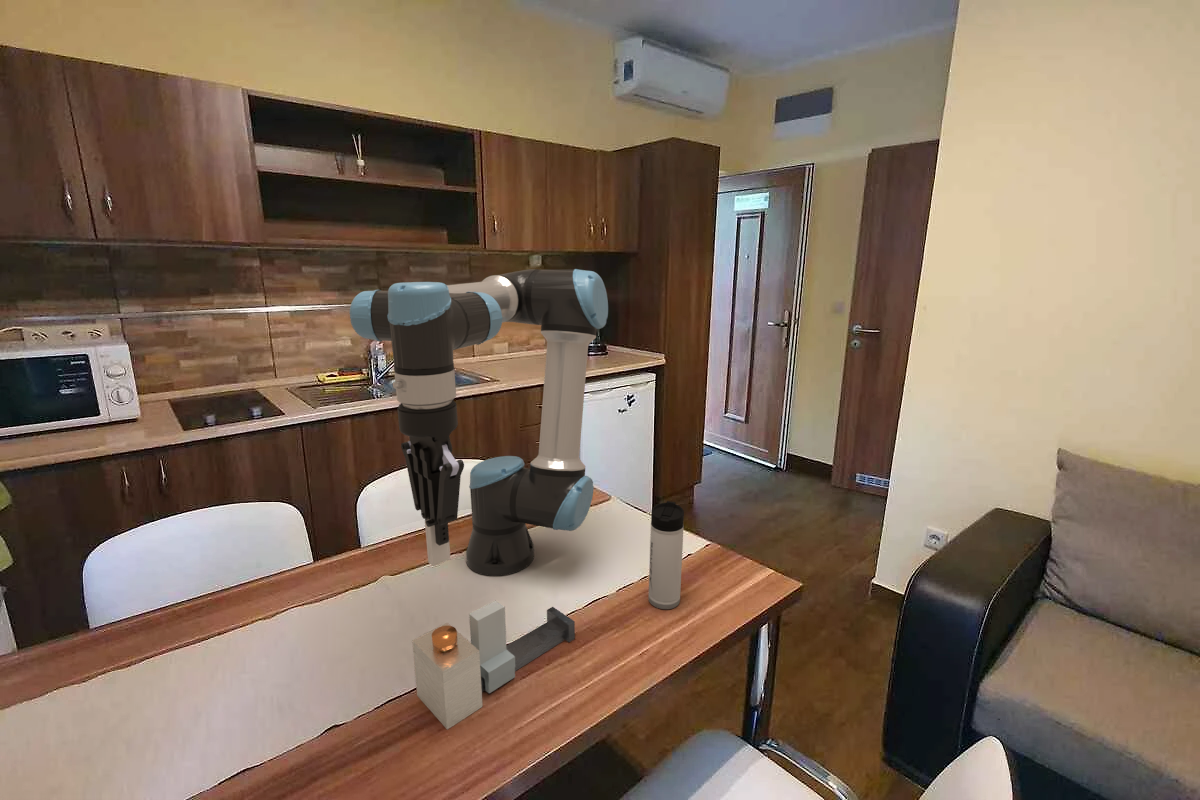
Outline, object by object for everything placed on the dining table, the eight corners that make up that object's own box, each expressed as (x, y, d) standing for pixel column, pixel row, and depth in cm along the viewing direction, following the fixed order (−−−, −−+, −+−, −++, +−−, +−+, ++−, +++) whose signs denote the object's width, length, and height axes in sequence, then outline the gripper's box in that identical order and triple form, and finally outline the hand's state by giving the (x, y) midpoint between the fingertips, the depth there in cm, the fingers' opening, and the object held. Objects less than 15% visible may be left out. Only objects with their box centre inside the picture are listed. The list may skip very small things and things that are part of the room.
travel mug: (682, 593, 113) (687, 503, 108) (676, 612, 107) (680, 518, 102) (653, 587, 115) (656, 498, 110) (644, 606, 109) (647, 512, 103)
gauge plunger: (431, 681, 84) (427, 633, 82) (452, 669, 87) (448, 622, 85) (443, 694, 82) (439, 645, 80) (464, 682, 84) (461, 633, 82)
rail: (417, 695, 86) (412, 640, 84) (547, 619, 104) (546, 572, 102) (447, 729, 80) (442, 671, 78) (580, 642, 98) (580, 593, 96)
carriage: (465, 671, 91) (461, 607, 88) (491, 656, 94) (487, 594, 91) (489, 694, 86) (486, 627, 83) (515, 677, 90) (513, 613, 87)
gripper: (377, 397, 75) (393, 553, 81) (425, 417, 66) (438, 590, 72) (428, 388, 80) (439, 535, 86) (478, 405, 71) (487, 568, 77)
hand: (439, 560), depth 79 cm, fingers closed
